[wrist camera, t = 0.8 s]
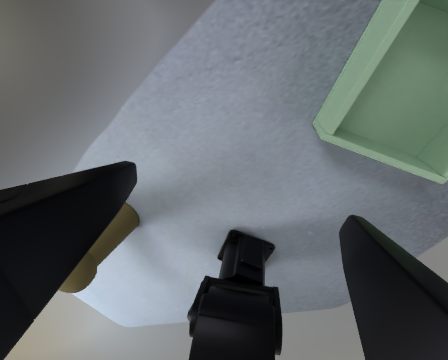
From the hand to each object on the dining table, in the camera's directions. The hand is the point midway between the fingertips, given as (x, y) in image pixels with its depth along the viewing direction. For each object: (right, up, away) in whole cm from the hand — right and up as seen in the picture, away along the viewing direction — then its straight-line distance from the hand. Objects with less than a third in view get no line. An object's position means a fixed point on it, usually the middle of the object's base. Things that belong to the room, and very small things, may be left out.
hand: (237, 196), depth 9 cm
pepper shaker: (-16, -4, +23) cm, 28 cm away
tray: (+14, +8, +8) cm, 18 cm away
